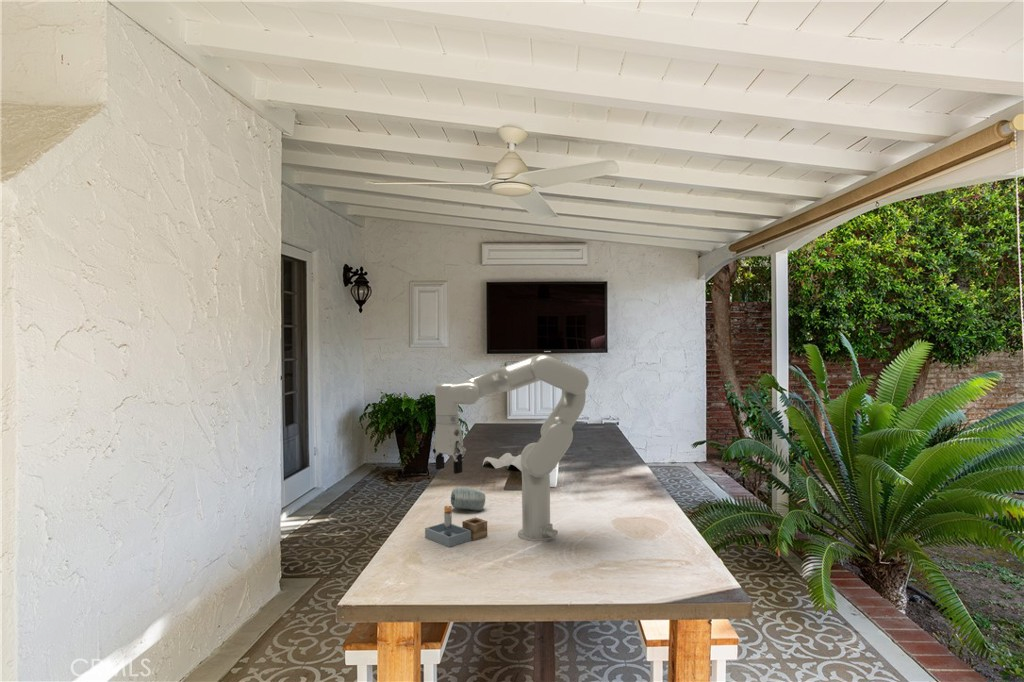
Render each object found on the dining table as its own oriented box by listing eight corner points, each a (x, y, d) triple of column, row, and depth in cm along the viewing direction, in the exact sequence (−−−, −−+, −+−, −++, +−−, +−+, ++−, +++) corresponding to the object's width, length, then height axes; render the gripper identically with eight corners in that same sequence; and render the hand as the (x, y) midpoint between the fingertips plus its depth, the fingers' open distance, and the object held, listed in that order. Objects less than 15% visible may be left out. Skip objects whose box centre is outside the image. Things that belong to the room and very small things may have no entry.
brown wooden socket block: (487, 535, 191) (487, 521, 191) (473, 540, 187) (473, 525, 187) (475, 531, 195) (475, 517, 195) (462, 536, 191) (462, 521, 191)
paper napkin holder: (478, 472, 285) (478, 453, 285) (497, 465, 302) (497, 447, 302) (522, 478, 273) (522, 457, 273) (539, 470, 290) (539, 451, 290)
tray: (471, 540, 187) (471, 530, 187) (449, 547, 181) (449, 537, 181) (446, 530, 197) (446, 521, 197) (425, 537, 190) (425, 528, 190)
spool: (444, 507, 216) (453, 483, 215) (450, 500, 225) (459, 477, 225) (477, 521, 214) (486, 497, 214) (481, 514, 224) (490, 491, 223)
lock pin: (453, 536, 189) (453, 506, 189) (447, 538, 187) (447, 508, 187) (448, 535, 190) (448, 505, 191) (442, 536, 189) (442, 506, 189)
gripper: (472, 420, 185) (474, 472, 185) (440, 416, 198) (442, 465, 198) (454, 423, 180) (456, 476, 180) (423, 419, 192) (424, 469, 192)
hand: (448, 470), depth 189 cm, fingers open, 9 cm apart
